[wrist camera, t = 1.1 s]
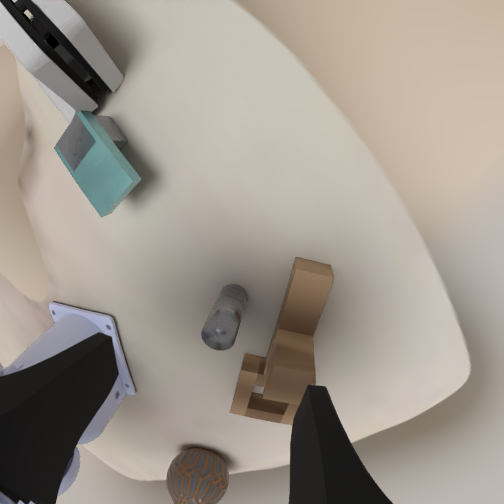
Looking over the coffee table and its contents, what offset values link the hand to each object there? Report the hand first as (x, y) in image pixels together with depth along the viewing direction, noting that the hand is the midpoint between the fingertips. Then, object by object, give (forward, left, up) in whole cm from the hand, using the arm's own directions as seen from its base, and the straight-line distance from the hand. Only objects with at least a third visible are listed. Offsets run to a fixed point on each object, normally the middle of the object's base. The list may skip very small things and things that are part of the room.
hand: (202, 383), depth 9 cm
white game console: (+18, +15, -10) cm, 25 cm away
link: (-6, -3, -10) cm, 11 cm away
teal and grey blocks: (+4, +6, -10) cm, 12 cm away
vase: (-25, +5, -10) cm, 27 cm away
